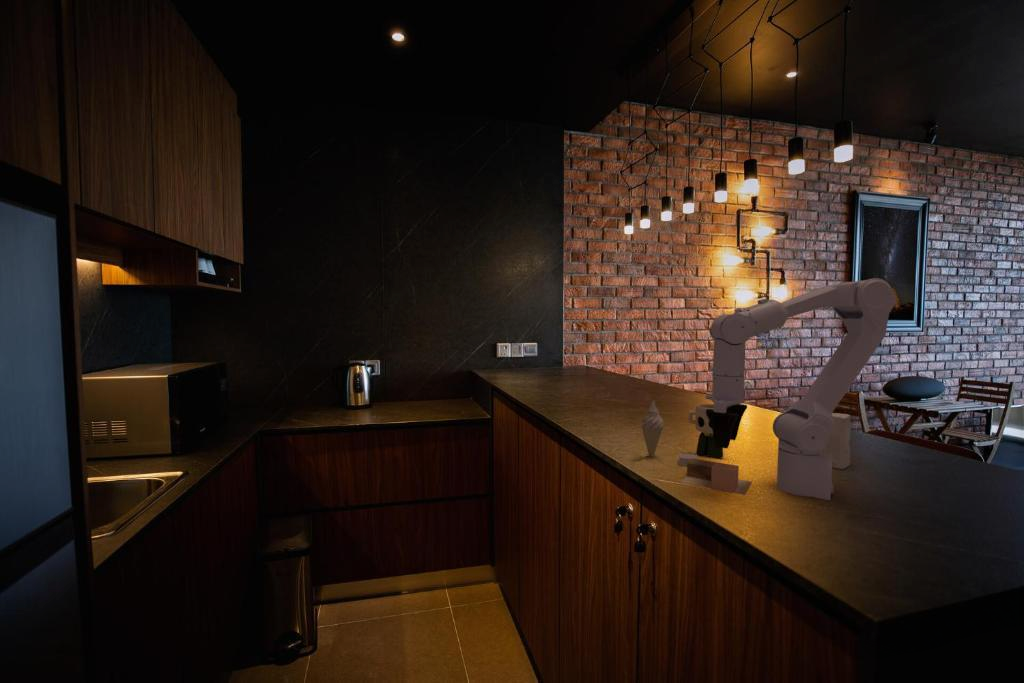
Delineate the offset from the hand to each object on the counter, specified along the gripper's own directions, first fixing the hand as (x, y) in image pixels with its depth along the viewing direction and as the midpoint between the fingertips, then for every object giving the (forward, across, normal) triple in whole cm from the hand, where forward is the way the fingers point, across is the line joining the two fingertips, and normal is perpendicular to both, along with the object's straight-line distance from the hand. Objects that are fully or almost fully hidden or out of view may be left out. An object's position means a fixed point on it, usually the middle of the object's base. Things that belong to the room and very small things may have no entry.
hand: (725, 443), depth 96 cm
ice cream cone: (+10, -12, -19) cm, 25 cm away
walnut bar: (+10, -5, -4) cm, 12 cm away
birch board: (+10, -2, -2) cm, 10 cm away
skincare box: (+10, -36, +18) cm, 41 cm away
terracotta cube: (+9, 0, 0) cm, 9 cm away
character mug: (+10, -24, -8) cm, 27 cm away
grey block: (+10, -12, -10) cm, 18 cm away
